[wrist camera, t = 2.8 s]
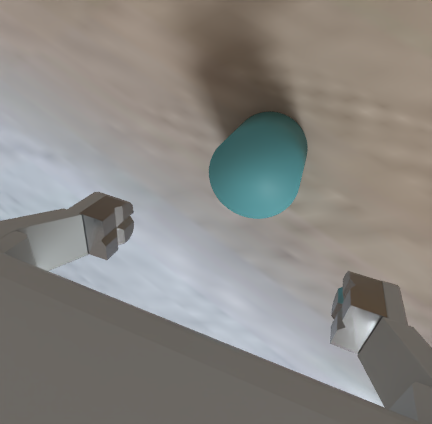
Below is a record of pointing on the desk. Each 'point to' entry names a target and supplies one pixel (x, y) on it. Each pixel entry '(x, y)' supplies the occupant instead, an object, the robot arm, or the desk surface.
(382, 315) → the robot arm
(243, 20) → the desk surface
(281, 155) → the teal cylinder
